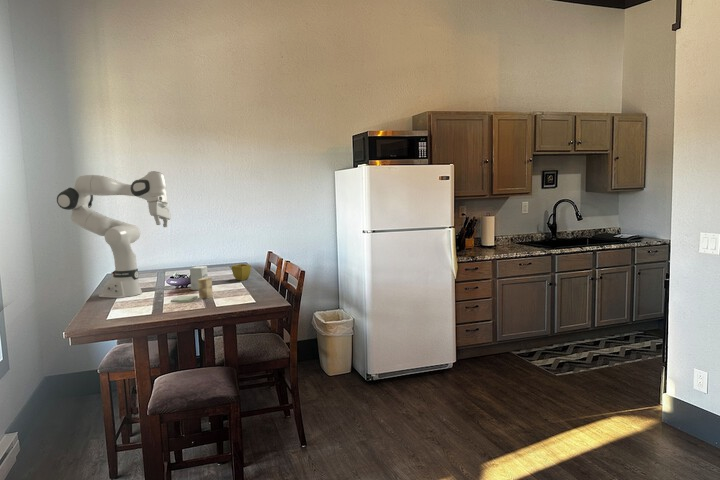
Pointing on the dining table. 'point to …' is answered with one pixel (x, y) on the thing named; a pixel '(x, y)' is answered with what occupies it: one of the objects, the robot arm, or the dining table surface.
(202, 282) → the beech block
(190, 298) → the tile
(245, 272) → the flower pot
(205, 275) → the supplement box
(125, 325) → the dining table surface
